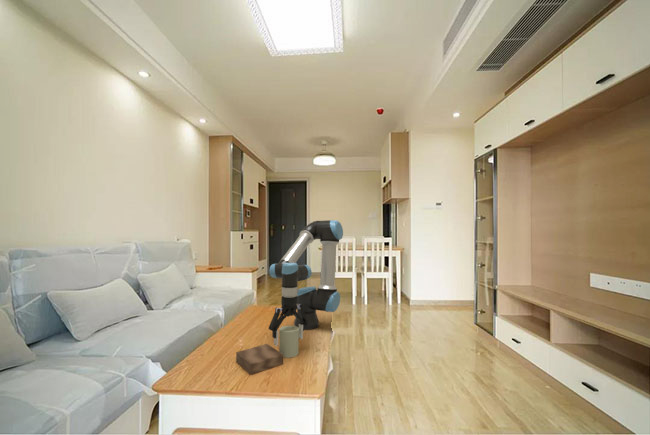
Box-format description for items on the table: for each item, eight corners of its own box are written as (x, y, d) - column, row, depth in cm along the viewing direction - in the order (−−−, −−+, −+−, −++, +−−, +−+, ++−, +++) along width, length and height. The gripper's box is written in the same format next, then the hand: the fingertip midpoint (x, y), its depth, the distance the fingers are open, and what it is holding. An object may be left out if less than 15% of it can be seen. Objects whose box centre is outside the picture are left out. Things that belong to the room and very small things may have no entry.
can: (295, 358, 126) (295, 331, 127) (275, 356, 128) (276, 330, 128) (301, 350, 135) (301, 325, 136) (282, 348, 137) (283, 323, 137)
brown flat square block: (266, 352, 132) (267, 343, 133) (283, 363, 121) (283, 354, 121) (236, 361, 123) (236, 351, 123) (250, 374, 111) (250, 364, 111)
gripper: (306, 291, 144) (305, 333, 142) (261, 297, 128) (260, 345, 126) (315, 293, 138) (314, 337, 136) (269, 300, 122) (268, 350, 121)
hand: (288, 341), depth 131 cm, fingers open, 13 cm apart
